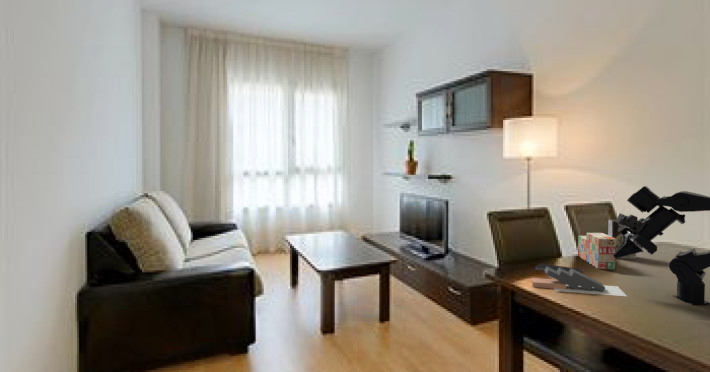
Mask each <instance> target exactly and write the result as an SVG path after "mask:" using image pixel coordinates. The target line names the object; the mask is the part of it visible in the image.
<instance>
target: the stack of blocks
mask: <svg viewBox="0 0 710 372" xmlns="http://www.w3.org/2000/svg"><path fill="white" fill-rule="evenodd" d="M577 243H578V245H577V247H578V248H577V252H578V253H577V254H578V257H580V259H582V260H583V261H585V260H586V261H585V262H587V263H588V262H589V264H590V265H591V264H592V265H591V266H593V267H594V266H595V267H594V268H596V269H597V268H598V270H616V258H615V257H614V256H613V254H614V253H615V251H616V239H615V238H613V237H611V236H609V235H608V234H605V233H603V232H586V235H578V236H577Z"/></svg>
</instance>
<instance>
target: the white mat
mask: <svg viewBox="0 0 710 372" xmlns="http://www.w3.org/2000/svg"><path fill="white" fill-rule="evenodd" d="M603 286H604V287H605V289H604V291H603V292H602V291H600V290H598V289H596V288H594V287H592V288H591V290H590V291H589V290H587V289H585V288H583V287H581V286H578V288H577V289H574V288H572V287H570V286H568V285H566V289H555V288H553V290H554V292H562V293H577V294H590V295H605V296H616V297H617V296H618V297H627V294H625V292H624V291H623V290H622V289H621V288H620V287H619V286H617V285H605V284H603Z"/></svg>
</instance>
